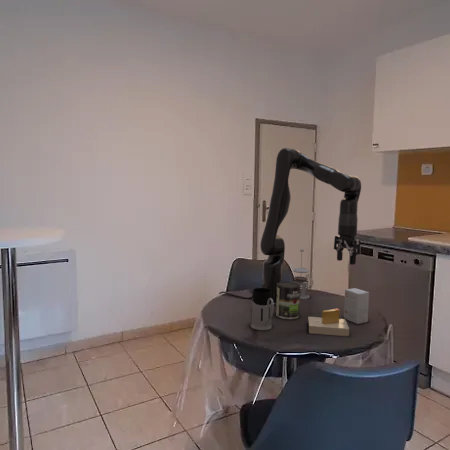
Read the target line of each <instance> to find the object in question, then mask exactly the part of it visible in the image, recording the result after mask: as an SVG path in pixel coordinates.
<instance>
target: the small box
mask: <svg viewBox="0 0 450 450" xmlns="http://www.w3.org/2000/svg"><path fill="white" fill-rule="evenodd" d="M369 303H370V292H369V291H367V290H362V289H360V288H356V287H352V288H346V289H344V303H343V305H344V307H343V319H345V320H346V321H349V322H351V323H353V324H356V325H360V324H365V323H368V321H369V306H370V304H369Z"/></svg>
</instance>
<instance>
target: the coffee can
mask: <svg viewBox="0 0 450 450" xmlns="http://www.w3.org/2000/svg"><path fill="white" fill-rule="evenodd" d="M300 289H301V288H300V284H298V283H294V282H293V281H282V282H279V283H277V303H276V305H275V306H276V307H275V316H276V317H277V318H280V319H284V320H296V319H298V318H299V317H300V300H301V299H300V291H301V290H300Z"/></svg>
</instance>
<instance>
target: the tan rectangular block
mask: <svg viewBox="0 0 450 450" xmlns="http://www.w3.org/2000/svg"><path fill="white" fill-rule="evenodd" d="M340 311H341V310H340V309H339V308H337V307H336V308H333V309H325V310H322V311H321V318H322V323H323V324H330V323H337V322H339V319H340Z"/></svg>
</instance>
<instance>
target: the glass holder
mask: <svg viewBox="0 0 450 450" xmlns="http://www.w3.org/2000/svg"><path fill="white" fill-rule="evenodd" d="M271 292H272V291H271V290H270V289H267V288H262V287H255V288H253V289H252V295H253V298H252V299H251V300H252V301H251V303H252V304H251V308H252V309H251V323H250V327H251V328H252V329H253V330H256V331H268V330H271V329H273V325H272V318H273V315H274V310H275V305H274V302H273V300H272V298H271ZM271 301H272V302H271Z"/></svg>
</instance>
